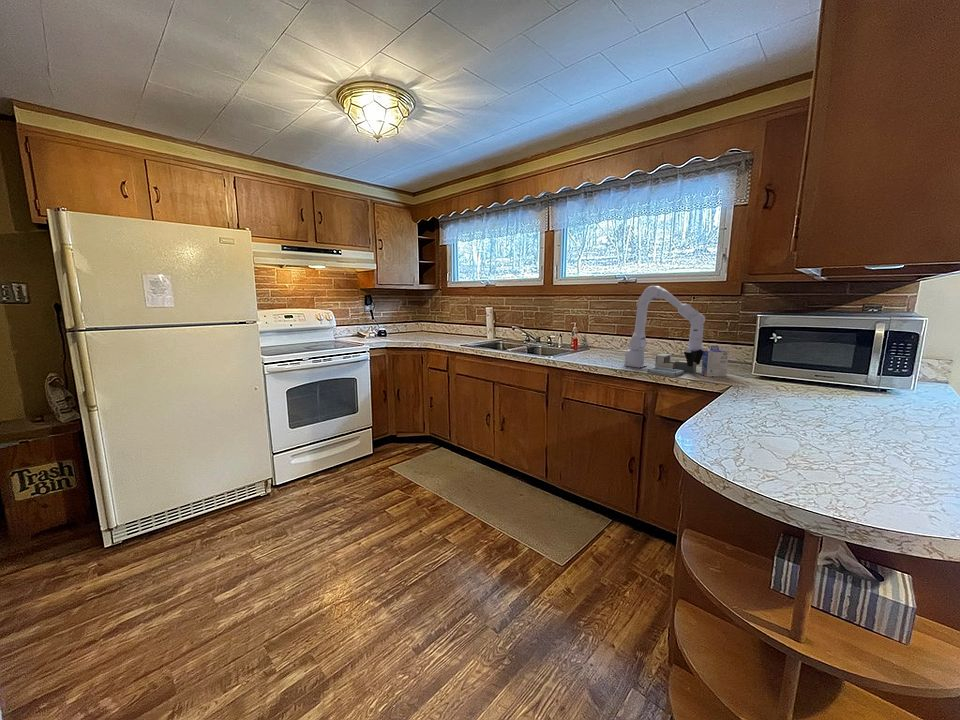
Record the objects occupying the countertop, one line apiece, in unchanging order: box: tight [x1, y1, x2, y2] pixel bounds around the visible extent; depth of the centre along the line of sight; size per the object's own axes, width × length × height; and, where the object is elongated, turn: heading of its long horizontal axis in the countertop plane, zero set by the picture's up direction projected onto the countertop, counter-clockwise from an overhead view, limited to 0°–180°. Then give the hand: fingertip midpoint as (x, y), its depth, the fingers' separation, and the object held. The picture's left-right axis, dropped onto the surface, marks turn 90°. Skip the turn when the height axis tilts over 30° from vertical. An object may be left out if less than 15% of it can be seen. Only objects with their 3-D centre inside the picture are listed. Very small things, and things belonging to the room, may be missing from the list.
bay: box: [654, 353, 675, 369], centre depth 205 cm, size 9×8×7 cm
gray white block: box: [674, 360, 698, 374], centre depth 198 cm, size 9×4×5 cm, turn 39°
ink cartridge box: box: [700, 345, 729, 378], centre depth 187 cm, size 10×6×14 cm, turn 89°
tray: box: [646, 366, 685, 378], centre depth 194 cm, size 14×9×2 cm, turn 39°
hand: (693, 365), depth 195 cm, fingers open, 7 cm apart
